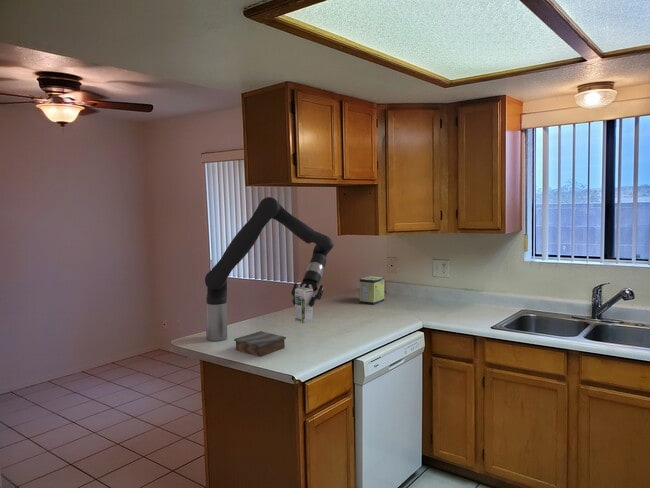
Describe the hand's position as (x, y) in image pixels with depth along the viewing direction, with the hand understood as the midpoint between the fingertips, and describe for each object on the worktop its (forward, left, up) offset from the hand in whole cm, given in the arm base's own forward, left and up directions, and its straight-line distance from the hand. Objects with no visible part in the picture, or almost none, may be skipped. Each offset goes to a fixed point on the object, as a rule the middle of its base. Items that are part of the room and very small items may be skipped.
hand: (302, 305), depth 209 cm
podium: (-16, -10, -20) cm, 28 cm away
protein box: (-31, +104, -20) cm, 111 cm away
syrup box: (0, +1, -8) cm, 8 cm away
